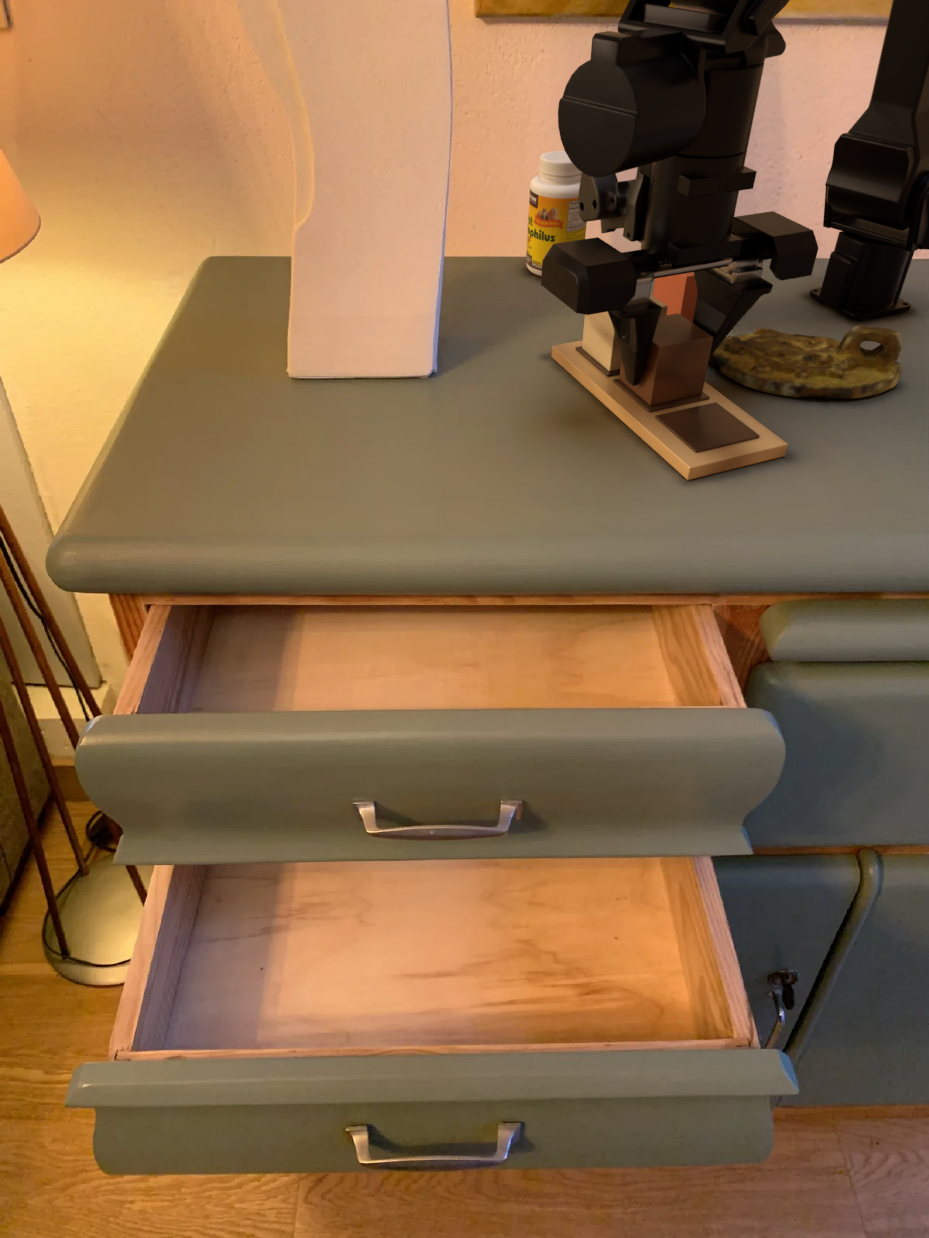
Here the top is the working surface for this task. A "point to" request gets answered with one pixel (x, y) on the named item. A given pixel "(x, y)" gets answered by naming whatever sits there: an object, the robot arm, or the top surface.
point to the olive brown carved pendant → (813, 362)
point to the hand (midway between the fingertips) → (662, 377)
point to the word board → (669, 410)
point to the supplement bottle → (553, 208)
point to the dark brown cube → (674, 362)
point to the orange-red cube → (677, 294)
